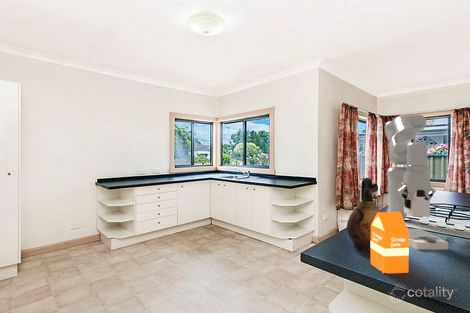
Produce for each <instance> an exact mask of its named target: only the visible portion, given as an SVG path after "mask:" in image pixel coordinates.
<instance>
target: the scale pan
mask: <svg viewBox="0 0 470 313" xmlns="http://www.w3.org/2000/svg"><path fill="white" fill-rule="evenodd" d="M408 230H409V237H410V238H412V239H438V238H439V236H437V235H435V234H433V233H430V232H428V231H426V230H423V229H421V228H408Z"/></svg>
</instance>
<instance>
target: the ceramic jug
mask: <svg viewBox="0 0 470 313" xmlns="http://www.w3.org/2000/svg"><path fill="white" fill-rule="evenodd" d="M360 189H361V190H360V192H361V194H360V196H361V197H360V201H359V203H358V204H357V205H356V206H355V207H354V209H353V210H352V211H351V213H350V215H349V217H348V220H347V224H346V231H347V234H348V237H349V238H350V239H351V241H352V242H353V246H354V248H355V249H356V250H361V251H364V252H371V224H372V222H373V220H374V219H375V217H376V215H377V212H381V210H380V208H379V206H377V204H376V202H375V200H374V198H373V193H376V192H378V191H379V186H378V184H377V183H373V180H372V179H371V178H370V177H365V178H362V180H361V187H360Z"/></svg>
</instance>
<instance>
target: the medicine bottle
mask: <svg viewBox="0 0 470 313" xmlns="http://www.w3.org/2000/svg"><path fill="white" fill-rule="evenodd" d="M424 198H425V191H424V190H416V191H415V194H412V195H411V197H410V199H409V200H411V208H410V209H409V208H406V207H405V205H404V213H406V214H407V215H408V216H411V217H421V218H423V217H427V218H429V217H431V201H430V200H429V201H428V200H425V199H424Z"/></svg>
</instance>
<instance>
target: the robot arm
mask: <svg viewBox="0 0 470 313" xmlns="http://www.w3.org/2000/svg"><path fill="white" fill-rule="evenodd" d="M426 126H427V120H426V117H425V115H423V114H406V115H405V114H404V115H399V116H397V117H396V118H395V119H394V120H390V121H387V122H386V123H385V124H384V134H385V136H386V139H387V140H388V154H389V155H388V158H389V162H390V164H391V165H397V166H391V167H389V168H388V169H387V171H386V179H387V185H388V190H387V192H388V204H387V205H388V208H387V209H386V212H401V214H402V217H403V219H405V218H407V216H408V214H406V213H404V205H405V207H406V208H409V209H410V208H411V200H409V199H410V197H411V195H412V194H415V191H416V190H424V191H425V198H424V199H425V200H428V201H430V200H431V198H432V197H433V196H434V194H435V193H436V192H437V190H436V189H434V188H433V187H432V186H431V178H430V174H429V172H428V170H430V166H428V144H427V143H426V142H424V141H423V142H422V141H421V142H419V141H417V142H416V141H415V142H412V140H413V139H415V137H416V136H417V134H418V133H420V132H422V131H424V129H425V128H426ZM410 141H411V142H410ZM401 165H402V166H401Z"/></svg>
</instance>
